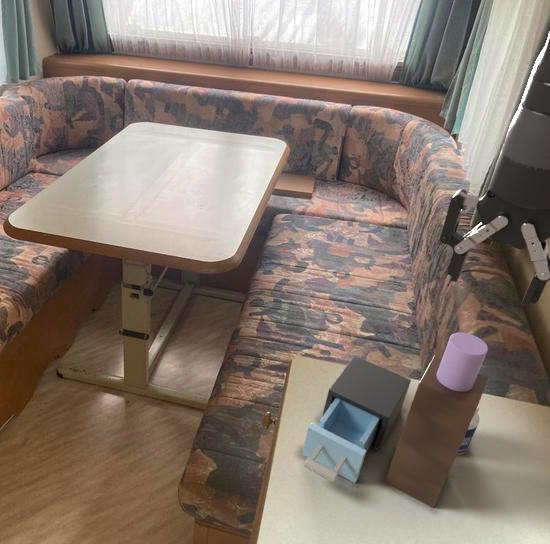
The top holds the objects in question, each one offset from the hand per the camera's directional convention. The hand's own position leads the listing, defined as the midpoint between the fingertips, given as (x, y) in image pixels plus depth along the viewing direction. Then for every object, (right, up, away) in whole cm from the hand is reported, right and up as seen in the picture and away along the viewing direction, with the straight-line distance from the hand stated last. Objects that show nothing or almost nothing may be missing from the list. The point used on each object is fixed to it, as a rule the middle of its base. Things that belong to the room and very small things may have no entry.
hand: (489, 290), depth 67 cm
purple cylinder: (-1, -12, +7) cm, 14 cm away
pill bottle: (+6, -25, +24) cm, 36 cm away
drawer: (-13, -26, +20) cm, 35 cm away
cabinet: (-6, -22, +28) cm, 36 cm away
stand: (-2, -29, +18) cm, 34 cm away
